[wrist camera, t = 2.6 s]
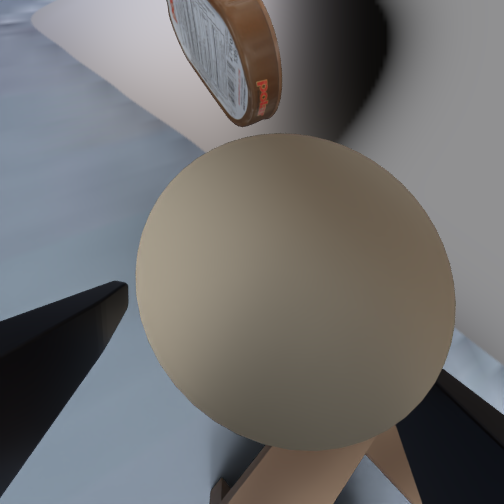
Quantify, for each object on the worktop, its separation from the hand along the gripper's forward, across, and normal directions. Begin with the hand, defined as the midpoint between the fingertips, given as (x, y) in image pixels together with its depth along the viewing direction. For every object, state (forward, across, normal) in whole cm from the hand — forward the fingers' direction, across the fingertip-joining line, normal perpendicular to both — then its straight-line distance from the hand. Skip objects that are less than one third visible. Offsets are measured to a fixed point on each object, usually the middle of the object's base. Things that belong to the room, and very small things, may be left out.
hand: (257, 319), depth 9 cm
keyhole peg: (+6, 0, +6) cm, 8 cm away
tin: (+21, +6, -9) cm, 24 cm away
